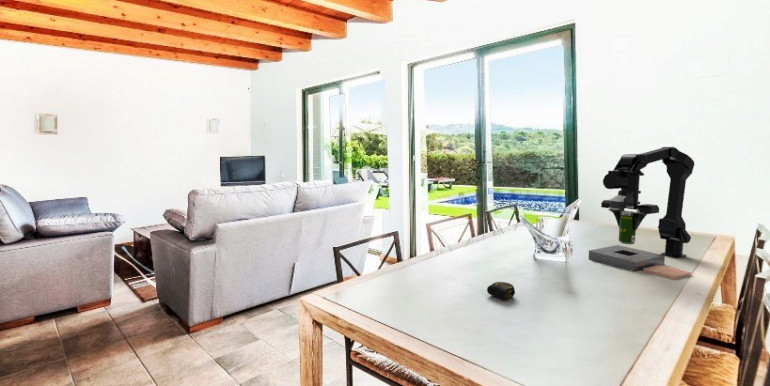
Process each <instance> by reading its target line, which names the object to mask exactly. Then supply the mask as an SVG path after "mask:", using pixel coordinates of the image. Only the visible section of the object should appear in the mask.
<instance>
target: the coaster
mask: <svg viewBox="0 0 770 386" xmlns="http://www.w3.org/2000/svg"><path fill="white" fill-rule="evenodd" d="M642 272H645V273H647V274H650V275H651V274H652V275H655V276H659V277H662V278H667V279H671V280H674V281H675V280H678V279H682V278H686V277H688V276H691V275H692V272H691V271H687V270H684V269H683V270H682V269H680V268H675V267H672V266H671V267H670V266H667V265H656V266H652V267H648V268H644V269H643V270H642Z"/></svg>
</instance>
